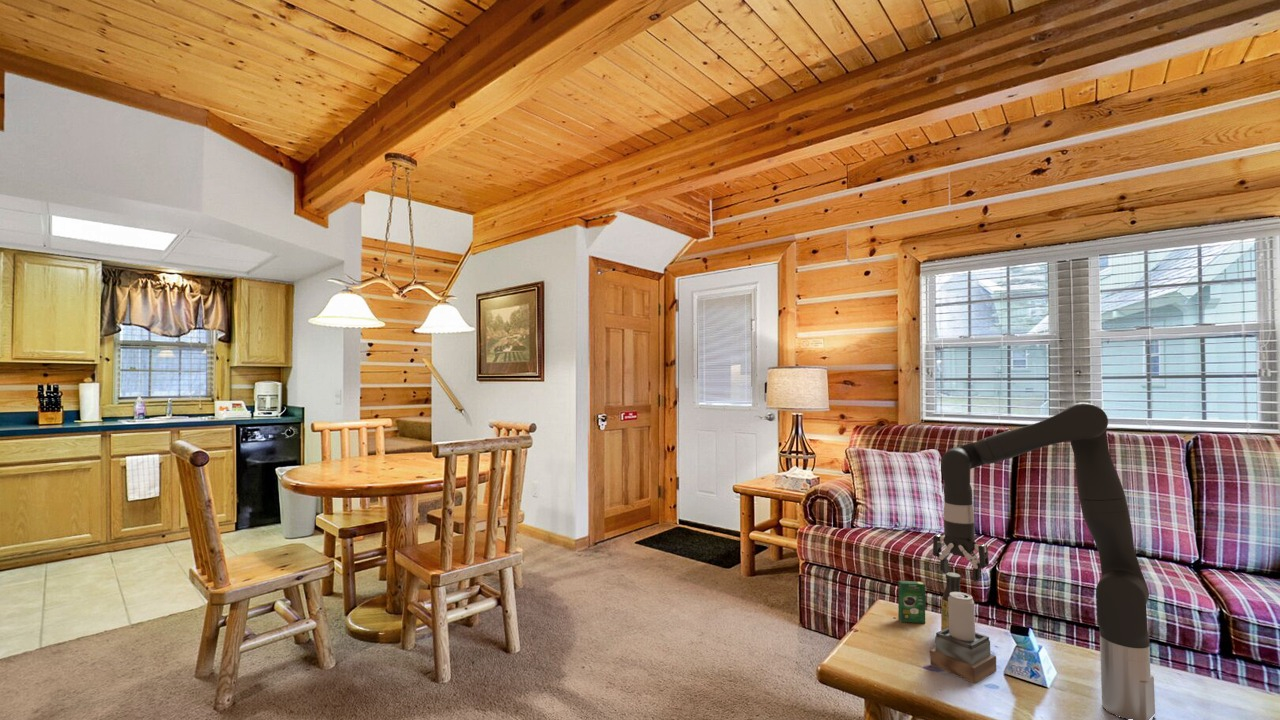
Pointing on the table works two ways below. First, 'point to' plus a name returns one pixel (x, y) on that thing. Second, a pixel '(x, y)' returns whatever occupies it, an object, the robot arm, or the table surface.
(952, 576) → the sauce bottle
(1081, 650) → the table surface
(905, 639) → the table surface
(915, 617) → the coffee box
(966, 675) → the tower base
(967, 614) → the beverage can
